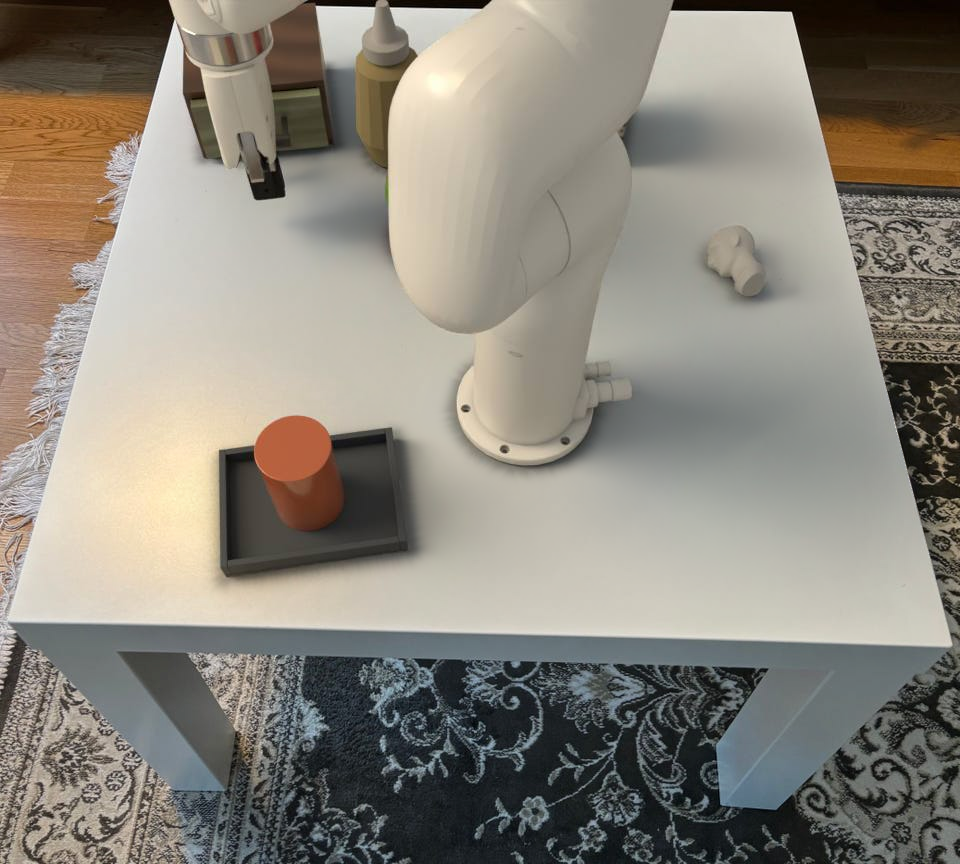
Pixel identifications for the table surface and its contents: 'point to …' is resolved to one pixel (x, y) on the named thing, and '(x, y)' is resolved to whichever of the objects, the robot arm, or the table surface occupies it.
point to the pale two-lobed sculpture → (736, 259)
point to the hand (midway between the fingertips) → (270, 193)
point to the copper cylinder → (300, 472)
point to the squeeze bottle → (379, 79)
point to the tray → (353, 534)
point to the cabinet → (280, 62)
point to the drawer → (276, 121)
